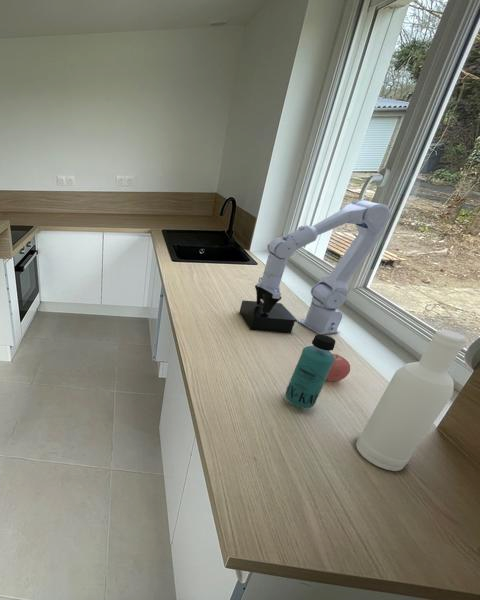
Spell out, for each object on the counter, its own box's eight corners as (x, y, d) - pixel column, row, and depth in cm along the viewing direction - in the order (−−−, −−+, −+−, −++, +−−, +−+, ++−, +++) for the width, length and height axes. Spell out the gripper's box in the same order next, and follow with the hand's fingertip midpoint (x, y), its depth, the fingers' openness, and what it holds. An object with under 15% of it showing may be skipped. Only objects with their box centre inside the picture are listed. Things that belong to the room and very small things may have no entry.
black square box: (275, 315, 124) (278, 304, 122) (290, 333, 112) (294, 322, 110) (239, 312, 126) (241, 302, 124) (250, 330, 114) (253, 318, 112)
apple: (329, 388, 86) (340, 364, 83) (305, 372, 93) (314, 349, 89) (350, 384, 88) (361, 360, 85) (325, 368, 95) (335, 345, 91)
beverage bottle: (284, 391, 85) (309, 326, 76) (314, 403, 81) (344, 336, 73) (280, 405, 81) (305, 338, 72) (311, 418, 77) (342, 349, 68)
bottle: (356, 459, 67) (426, 337, 54) (353, 433, 73) (415, 318, 60) (407, 479, 63) (496, 353, 50) (399, 450, 69) (477, 331, 56)
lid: (280, 304, 122) (283, 294, 120) (296, 322, 110) (300, 310, 108) (241, 301, 124) (244, 291, 122) (253, 318, 112) (256, 307, 110)
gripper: (253, 265, 118) (244, 298, 123) (268, 280, 105) (258, 316, 111) (274, 266, 117) (264, 300, 123) (291, 281, 104) (279, 318, 110)
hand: (262, 308), depth 117 cm, fingers closed on lid, 5 cm apart
